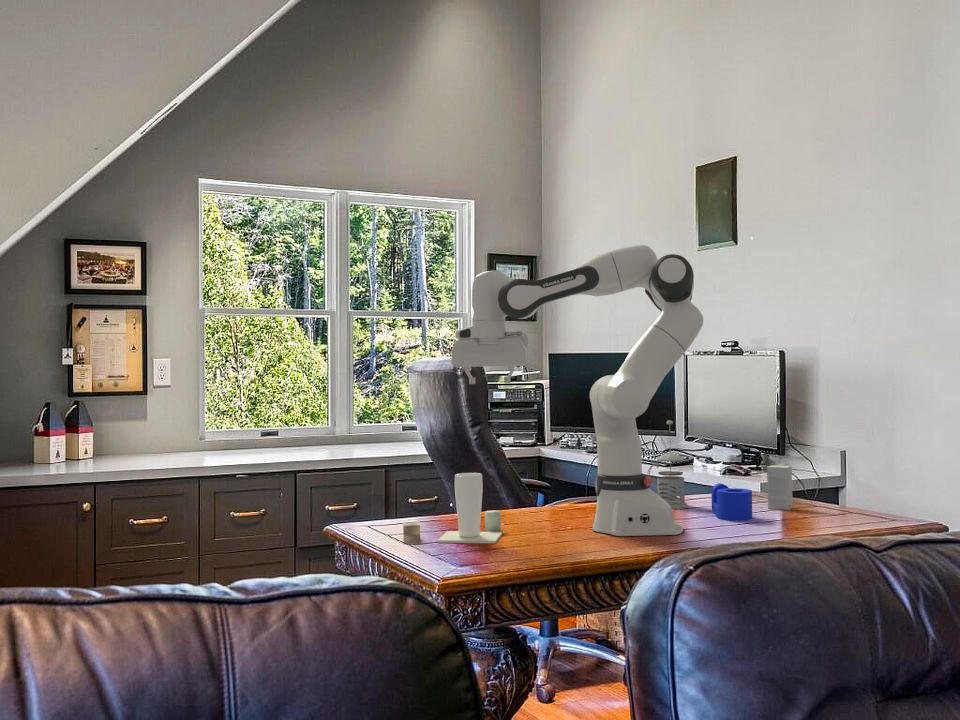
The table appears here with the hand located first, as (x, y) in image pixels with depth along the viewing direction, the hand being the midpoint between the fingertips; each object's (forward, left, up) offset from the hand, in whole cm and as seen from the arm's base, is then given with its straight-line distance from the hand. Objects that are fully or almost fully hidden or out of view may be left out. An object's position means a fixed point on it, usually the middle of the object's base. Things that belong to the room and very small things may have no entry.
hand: (489, 383), depth 254 cm
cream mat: (+2, +22, -37) cm, 43 cm away
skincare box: (-78, -29, -37) cm, 91 cm away
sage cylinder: (-2, +12, -37) cm, 39 cm away
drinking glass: (+2, +22, -37) cm, 43 cm away
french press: (-47, -33, -37) cm, 69 cm away
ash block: (+16, +25, -37) cm, 48 cm away
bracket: (-63, -17, -38) cm, 75 cm away
